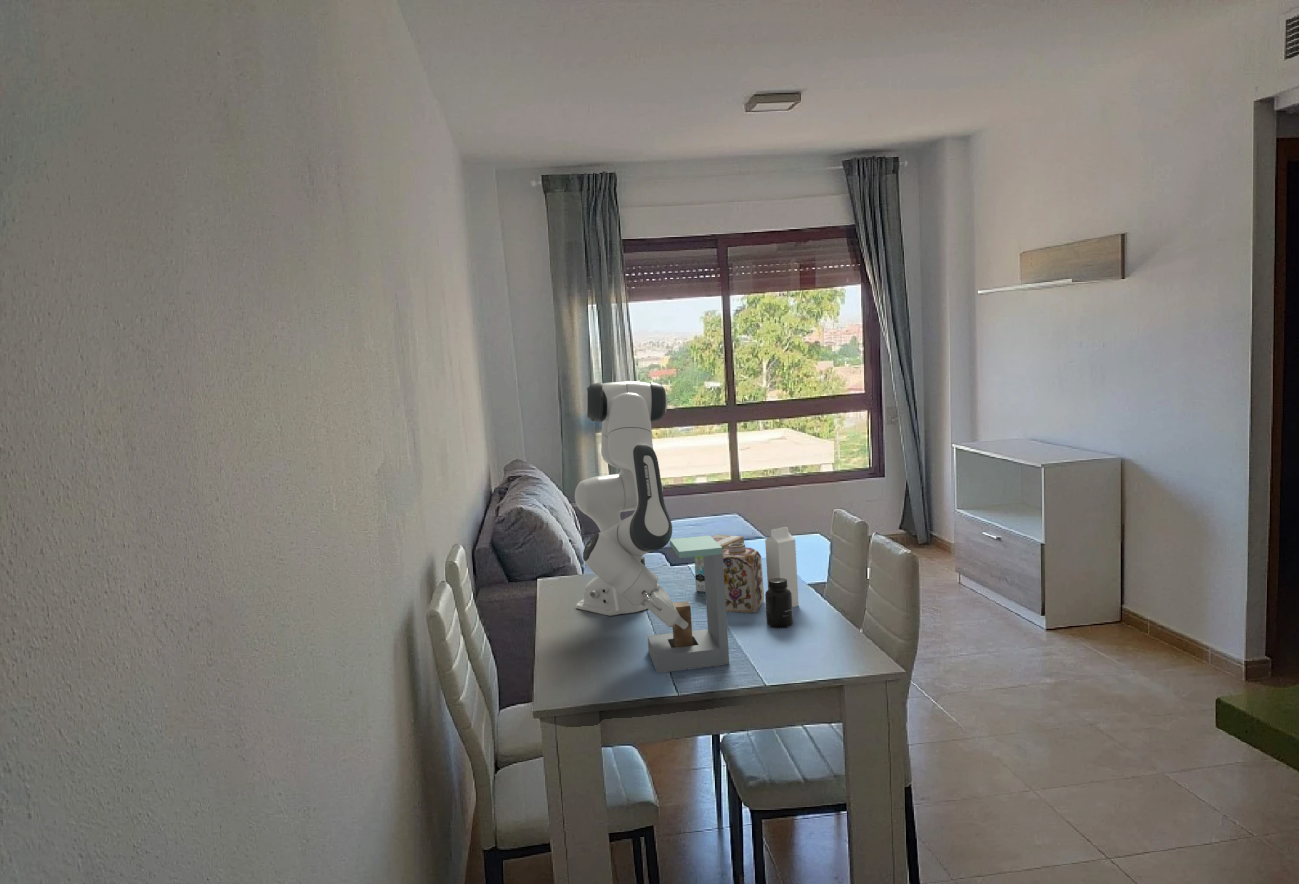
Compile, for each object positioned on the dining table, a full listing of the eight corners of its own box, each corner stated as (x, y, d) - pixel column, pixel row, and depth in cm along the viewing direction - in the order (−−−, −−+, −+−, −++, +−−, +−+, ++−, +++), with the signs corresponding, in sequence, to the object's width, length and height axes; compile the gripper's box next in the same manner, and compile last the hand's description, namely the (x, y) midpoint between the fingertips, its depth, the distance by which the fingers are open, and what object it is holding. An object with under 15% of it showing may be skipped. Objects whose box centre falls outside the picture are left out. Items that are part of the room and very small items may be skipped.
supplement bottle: (792, 629, 225) (790, 583, 224) (765, 629, 227) (763, 583, 225) (793, 620, 232) (791, 576, 231) (767, 620, 233) (765, 576, 232)
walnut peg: (676, 653, 207) (673, 607, 206) (673, 647, 211) (670, 602, 210) (693, 651, 207) (690, 605, 206) (690, 645, 211) (687, 601, 210)
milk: (798, 605, 245) (795, 528, 242) (781, 610, 242) (777, 531, 240) (785, 601, 250) (781, 525, 248) (768, 605, 247) (764, 528, 245)
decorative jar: (756, 613, 240) (752, 549, 238) (715, 612, 244) (711, 549, 242) (765, 601, 251) (761, 539, 250) (725, 600, 255) (721, 539, 253)
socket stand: (657, 672, 201) (648, 555, 198) (648, 651, 216) (640, 541, 213) (729, 664, 203) (722, 547, 200) (716, 643, 218) (709, 535, 215)
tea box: (724, 594, 261) (721, 545, 260) (695, 591, 266) (692, 543, 265) (746, 581, 274) (744, 535, 272) (718, 579, 279) (715, 533, 277)
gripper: (655, 587, 196) (701, 625, 198) (643, 566, 216) (685, 601, 219) (637, 609, 196) (683, 647, 198) (627, 586, 216) (669, 620, 218)
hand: (684, 622), depth 209 cm, fingers closed on walnut peg, 4 cm apart
